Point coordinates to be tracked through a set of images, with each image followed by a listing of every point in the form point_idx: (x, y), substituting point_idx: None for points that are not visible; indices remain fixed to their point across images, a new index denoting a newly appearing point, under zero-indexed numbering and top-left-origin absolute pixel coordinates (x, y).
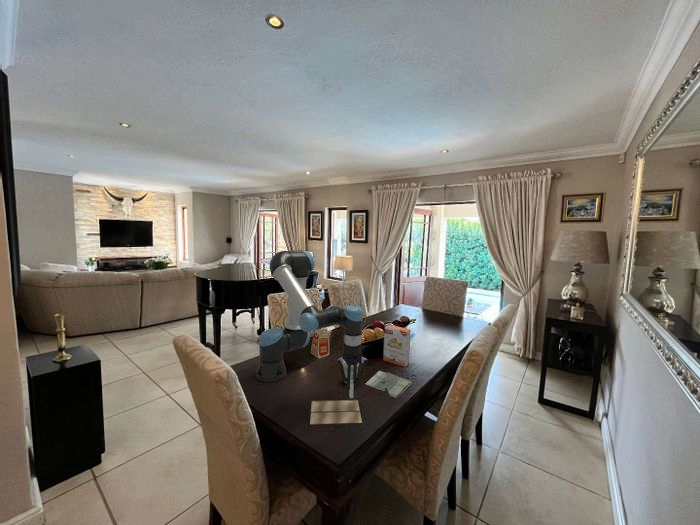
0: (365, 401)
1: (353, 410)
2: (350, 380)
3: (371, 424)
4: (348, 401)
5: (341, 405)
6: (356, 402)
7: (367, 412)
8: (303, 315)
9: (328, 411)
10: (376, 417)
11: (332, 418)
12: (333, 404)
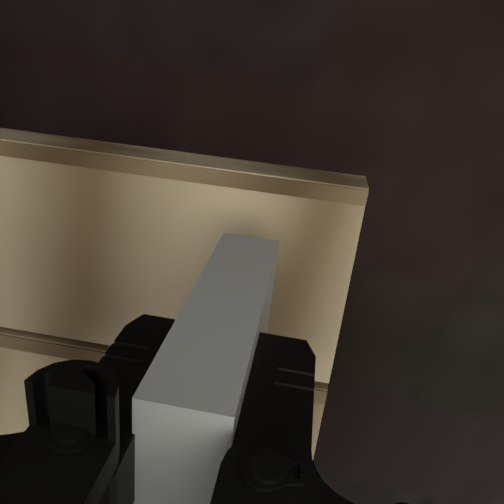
0: (490, 155)
1: None
2: (156, 408)
3: (390, 497)
4: (234, 199)
5: (138, 263)
6: (335, 240)
7: (421, 357)
8: None
9: (2, 337)
10: (480, 439)
11: None
12: (45, 228)
